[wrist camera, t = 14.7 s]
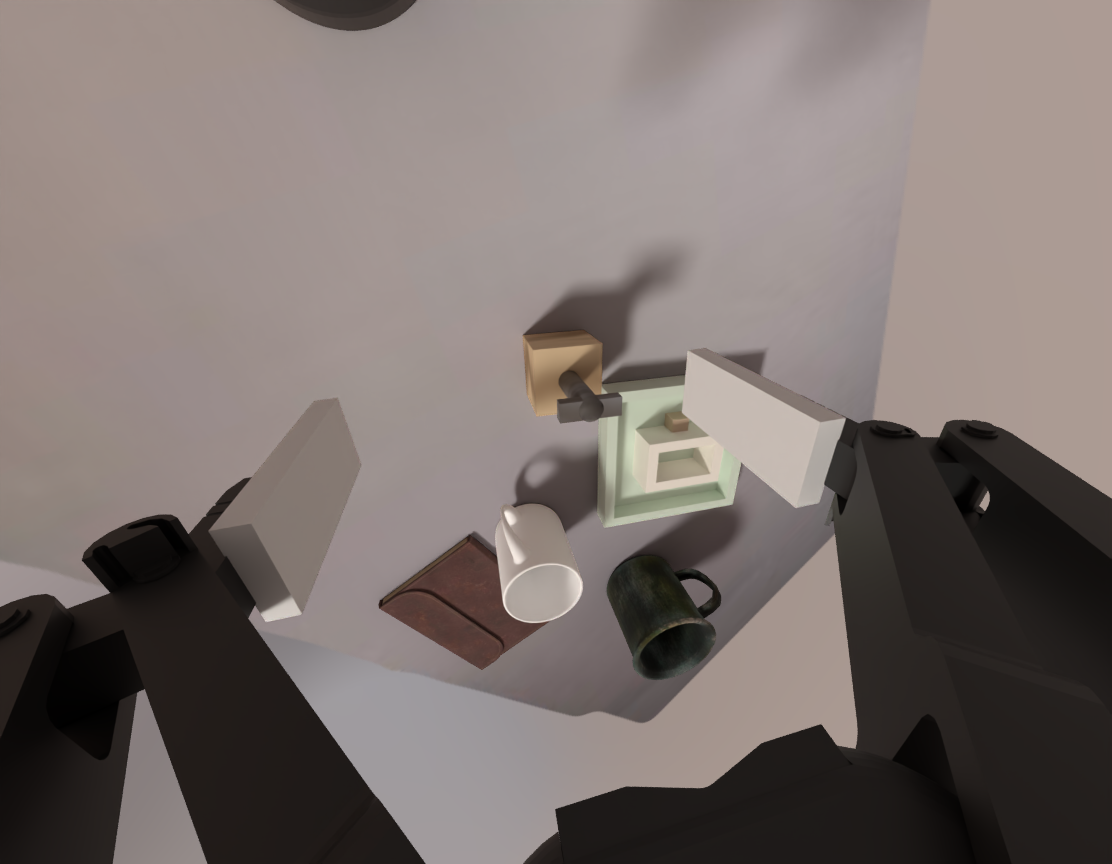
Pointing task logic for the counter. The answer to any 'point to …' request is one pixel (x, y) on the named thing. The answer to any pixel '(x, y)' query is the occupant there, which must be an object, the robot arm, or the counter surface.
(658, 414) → the tray
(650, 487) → the ring
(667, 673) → the mug
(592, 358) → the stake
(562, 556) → the mug
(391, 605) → the notebook
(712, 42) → the counter surface
